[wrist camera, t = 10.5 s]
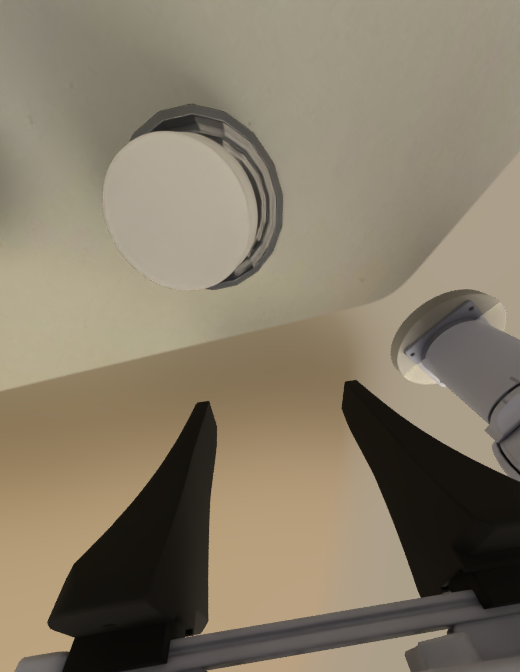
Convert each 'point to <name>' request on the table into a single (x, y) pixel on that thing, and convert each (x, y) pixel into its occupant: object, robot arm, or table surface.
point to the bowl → (253, 163)
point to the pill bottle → (179, 209)
